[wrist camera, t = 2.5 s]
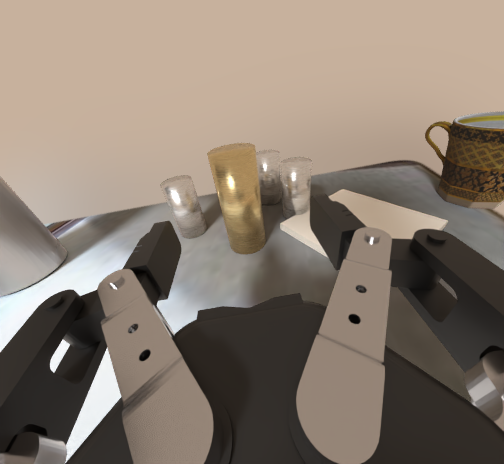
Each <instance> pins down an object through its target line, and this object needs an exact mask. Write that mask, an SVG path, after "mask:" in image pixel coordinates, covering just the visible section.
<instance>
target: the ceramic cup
mask: <svg viewBox="0 0 504 464" xmlns="http://www.w3.org/2000/svg"><path fill="white" fill-rule="evenodd" d="M435 126H440V127H442V128H444V129H445V130H446V131H447V132H448V136H449V141H448V147H447V151H446V156H445V157H444V156H443V155H442V154H441V152H440V150H439V148H438V147H437V146H436V145H435V144H434V143H433V142H432V140H431V139H430V137H429V133H430V130H431V129H432V128H433V127H435ZM425 138H426V140H427V142H428V143H429V144H430V145H431V147H432V148H433V149H434V150H435V151H436V153H437V155H438V157H439V158H440V159H441V160H442V162H443V171H442V176H441V180H440V184H439V189H438V194H439V195H440V196H441V197H442V198H443V199H444V200H445V201H447V202H450V203H453V204H457V205H460V206H464V207H467V208H489V209H494V208H496V207H497V206H499V205H500V204H501V203H502V202H504V112H489V113H478V114H471V115H465V116H461V117H458V118H456V119H454V121H453V124H451V123H449V122H445V121H444V122H437V123H434V124H433V125H431V126H430V127H429V128H428V129H427V131H426V134H425Z"/></svg>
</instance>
